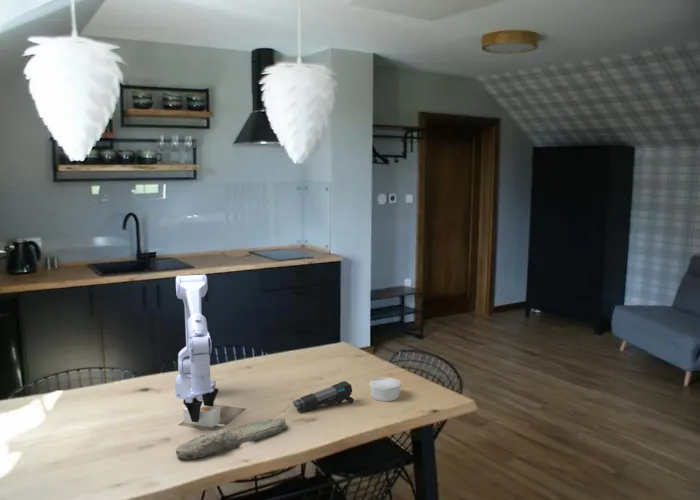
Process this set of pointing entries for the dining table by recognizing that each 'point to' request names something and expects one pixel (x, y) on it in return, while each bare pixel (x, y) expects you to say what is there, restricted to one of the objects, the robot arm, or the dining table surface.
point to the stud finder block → (204, 416)
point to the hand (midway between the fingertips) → (201, 416)
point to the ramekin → (385, 389)
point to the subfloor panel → (225, 417)
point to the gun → (325, 397)
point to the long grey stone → (229, 438)
